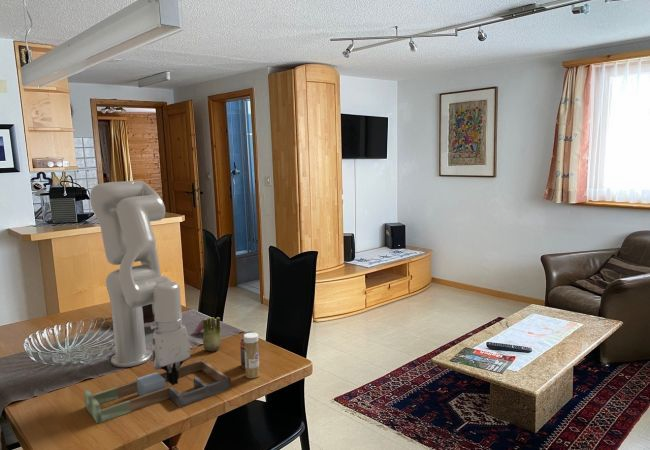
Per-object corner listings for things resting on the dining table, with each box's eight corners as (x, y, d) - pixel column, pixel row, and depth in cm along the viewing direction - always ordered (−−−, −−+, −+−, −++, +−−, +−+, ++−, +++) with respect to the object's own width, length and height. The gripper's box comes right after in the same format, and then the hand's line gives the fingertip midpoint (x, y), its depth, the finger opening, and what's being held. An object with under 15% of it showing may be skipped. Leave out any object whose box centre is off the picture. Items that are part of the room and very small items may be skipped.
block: (137, 394, 142) (136, 378, 141) (158, 387, 146) (156, 372, 145) (145, 402, 138) (144, 385, 137) (166, 395, 141) (164, 379, 141)
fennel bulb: (222, 347, 174) (221, 315, 172) (218, 353, 169) (216, 320, 167) (206, 347, 174) (205, 315, 172) (202, 353, 170) (200, 320, 168)
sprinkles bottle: (256, 379, 149) (254, 338, 147) (242, 378, 151) (240, 336, 149) (262, 373, 154) (260, 332, 152) (249, 371, 155) (247, 331, 153)
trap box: (85, 407, 135) (84, 390, 134) (203, 367, 158) (202, 353, 157) (106, 435, 122) (104, 416, 121) (231, 388, 145) (230, 372, 144)
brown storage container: (156, 321, 202) (153, 278, 199) (128, 326, 196) (124, 283, 193) (149, 310, 215) (146, 270, 212) (122, 315, 209) (119, 274, 206)
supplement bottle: (256, 371, 155) (254, 337, 153) (238, 369, 156) (236, 336, 155) (262, 363, 161) (260, 330, 159) (245, 361, 162) (243, 329, 160)
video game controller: (219, 340, 185) (224, 321, 186) (211, 338, 181) (216, 319, 183) (200, 335, 190) (205, 317, 191) (192, 333, 186) (197, 315, 188)
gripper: (148, 334, 135) (153, 396, 138) (198, 321, 145) (201, 379, 148) (138, 327, 141) (143, 386, 144) (187, 315, 150) (190, 370, 153)
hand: (173, 382), depth 146 cm, fingers closed
